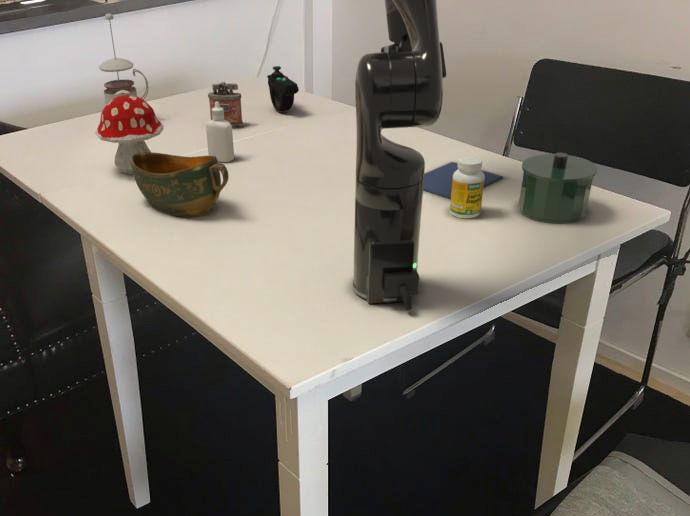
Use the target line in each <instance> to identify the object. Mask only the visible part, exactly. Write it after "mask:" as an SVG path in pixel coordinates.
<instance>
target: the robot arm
mask: <svg viewBox="0 0 690 516" xmlns="http://www.w3.org/2000/svg"><path fill="white" fill-rule="evenodd" d="M437 4H438V3H437V0H384V8H385V16H386V24H387V33H388V40H389V42H391V44H389V45H386V46H382V47H380V52H369V53H366V54H364V55H362V56H361V57H360V59H359V60H358V63H357V66H356V71H355V82H354V86H355V87H354V92H355V94H354V97H355V120H356V151H355V152H356V155H355V157H356V159H355V194H354V195H355V196H354V230H353V231H354V237H353V278H352V290H353V292H354V293H355V294H356V295H357V296H359V297H361V298H362V299H364V300H366V301H367V303H368V304H384V303H402V302H403V305H404V310H405V311H407V312H410V311H412V310H413V305H412V296H417V295H419V285H420V275H419V273H418V265H419V264H418V263H419V252H420V250H419V249H420V238H421V225H422V224H421V223H422V211H423V210H422V209H423V196H424V190H423V185H424V174H425V169H426V161H425V158H424V156H423V155H422V153H420V152H419V151H418V150H416V149H414V148H412V147H409V146H406V145H403V144H400V143H397V142H394V141H392V140H390V139H389V138H387V137H385V136H384V135H383V134H382V130H384V129H406V128H423V127H430V126H433V125H434V124H436V123H437V121H438V120H439V118H440V115H441V112H442V107H443V101H444V100H443V98H444V81H443V80H444V79H445V78H446V77H447V68H446V61H445V52H444V47H443V45H444V44H443V43H442V42H441V41H440V30H439V19H438V18H439V17H438V6H437ZM392 43H393V44H392Z"/></svg>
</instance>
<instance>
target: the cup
mask: <svg viewBox="0 0 690 516" xmlns="http://www.w3.org/2000/svg"><path fill="white" fill-rule="evenodd" d="M131 164H132V171H133V174H132V176H133V178H134V181H135V183H136V185H137V188H138V190H139V191H140V193H141V194H142V196H143V197H144V198H145V199H146V201H147V203H148V205H149V206H150V207H152V208H153V209H155V210H157V211H159V212H161V213H164V214H167V215H171V216H175V217H180V218H181V217H183V218H197V217H202V216H206V215H208V214H210V213H211V212H212V211H213V209H214V206H215V205H217V201H218V200H219V198H220V194H221V192H222V191H223V189H224V188H225V187H226V185H227V184H228V181H229V177H230V176H229V171H228V168H227V167H226V165H225V164H223V162H218V161H217V158H216V156H215V155H209V156H208V155H198V156H183V155H173V154H168V153H160V152H152V151H151V152H143V153H136V154H134V155H133V156H132V158H131ZM221 176H222V178H221Z"/></svg>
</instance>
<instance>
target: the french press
mask: <svg viewBox="0 0 690 516" xmlns="http://www.w3.org/2000/svg"><path fill="white" fill-rule="evenodd" d="M104 19H105V20H106V21H108V22H109V26H110V27H109V29H110V35H111V41H112V48H113V56H114V57H113V58H110V59H107V60H105V61H103V62H102V63H101V64H100V65H99V67H98V69H99V70H100V71H101V72H105V73H116V75H117V79H112V80H109V81H106V82H104V84H103V86H104V88H106V89H104V90H103V96H104V103H105V106H106V105H107V104H108V103H109V102H110V101H111V100H112V99H114V98H116V97H118V96H121V95H132V96H137V97H138V91H137V88H136V87H135V86H134V85H135V80H132V79H120V76H119V72H125V71H129V70H132V75H133V77H136V73H138V74H140V75H141V76H142V77H143V78H144V81H145V91H144V94H143V95H142V96H141V97H140V98H141V99H143V100H144V101H145V99H146V98H147V96H148V93H149V81H148V79H147V77H146V76H145V74H144V73H143V72H142V71H141V70H139V69H136V68H133V67H134V64H135V63H134V62H132V61H130V60H129V59H126V58H122V57H116V56H117V55H116V51H115V43H114V37H113V29H112V24H111V20H114V15H113V14H112V13H106V14H105V15H104ZM121 91H126V92H121ZM119 92H120V93H119Z"/></svg>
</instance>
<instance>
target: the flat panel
mask: <svg viewBox="0 0 690 516" xmlns="http://www.w3.org/2000/svg"><path fill="white" fill-rule="evenodd" d="M456 170H458V162H453V161H451V162H449V163H446V164H444V165H442V166H439V167H437V168H435V169H432V170H430V171H428V172H424V185H423V192H427V193H430V194H433V195H436V196H441V197H443V198H445V199H448V200H449V199H450V200H451V192H452V180H453V174H454V172H455V171H456ZM481 171H482V172H483V173H484V176H485V179H484V188H485V187H487V186H489V185H491V184H493V183H495V182H497V181H499V180H501V179H503V178H504V176H503V175H500V174H497V173H493V172H490V171H487V170H483V169H481Z"/></svg>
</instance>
